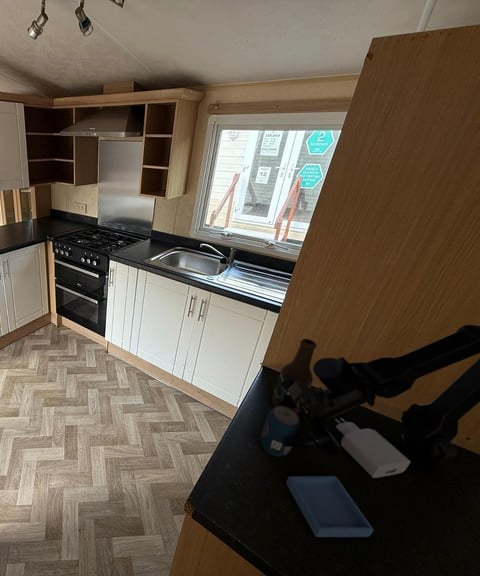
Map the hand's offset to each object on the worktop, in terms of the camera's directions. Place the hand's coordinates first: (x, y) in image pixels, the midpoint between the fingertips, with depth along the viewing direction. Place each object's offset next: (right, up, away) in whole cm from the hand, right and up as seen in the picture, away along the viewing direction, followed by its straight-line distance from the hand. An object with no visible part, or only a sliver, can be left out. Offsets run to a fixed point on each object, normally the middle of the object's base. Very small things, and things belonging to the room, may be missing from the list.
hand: (275, 428), depth 79 cm
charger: (+24, -7, +3) cm, 25 cm away
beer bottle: (+12, 0, +15) cm, 19 cm away
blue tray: (+5, -13, -10) cm, 17 cm away
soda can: (+1, -6, +3) cm, 7 cm away
